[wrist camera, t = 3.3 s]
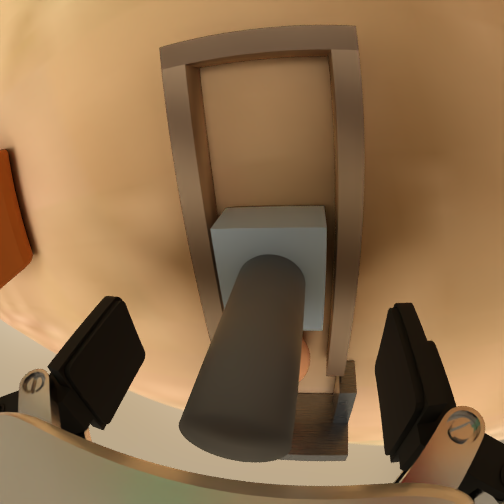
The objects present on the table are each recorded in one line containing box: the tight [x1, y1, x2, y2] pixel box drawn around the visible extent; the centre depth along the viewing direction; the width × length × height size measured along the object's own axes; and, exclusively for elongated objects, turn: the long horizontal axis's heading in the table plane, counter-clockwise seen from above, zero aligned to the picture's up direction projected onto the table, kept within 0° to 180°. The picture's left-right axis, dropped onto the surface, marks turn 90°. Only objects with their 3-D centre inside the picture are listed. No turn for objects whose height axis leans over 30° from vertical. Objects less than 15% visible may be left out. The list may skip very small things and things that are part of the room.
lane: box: [159, 25, 364, 376], centre depth 13 cm, size 17×7×2 cm, turn 5°
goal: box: [280, 361, 357, 461], centre depth 17 cm, size 5×9×5 cm, turn 95°
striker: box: [179, 206, 327, 462], centre depth 10 cm, size 5×4×9 cm
